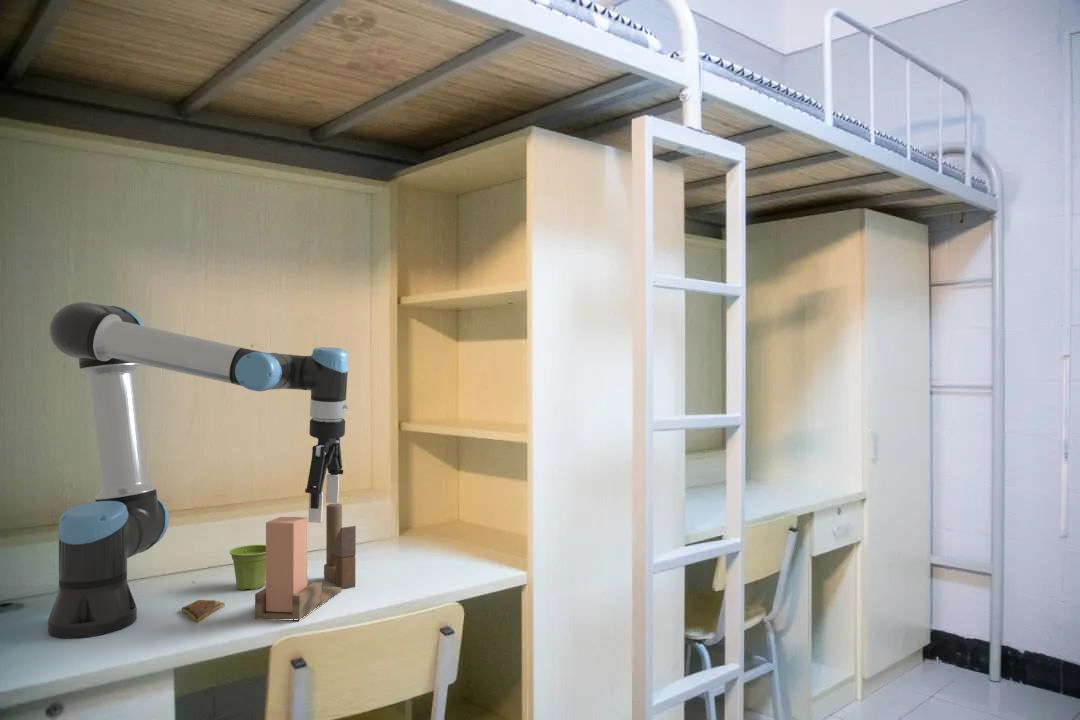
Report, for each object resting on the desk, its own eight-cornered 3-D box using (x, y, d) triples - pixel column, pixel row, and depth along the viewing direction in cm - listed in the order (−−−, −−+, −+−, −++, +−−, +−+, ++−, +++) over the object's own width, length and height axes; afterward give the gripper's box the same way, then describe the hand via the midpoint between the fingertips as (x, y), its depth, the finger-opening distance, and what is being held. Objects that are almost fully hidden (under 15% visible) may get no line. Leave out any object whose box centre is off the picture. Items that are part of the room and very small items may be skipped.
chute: (299, 621, 150) (299, 596, 150) (255, 618, 151) (255, 594, 151) (341, 591, 170) (341, 569, 170) (301, 589, 171) (301, 568, 171)
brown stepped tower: (341, 589, 171) (341, 511, 171) (323, 579, 180) (323, 504, 180) (356, 586, 173) (356, 509, 174) (338, 576, 182) (338, 502, 182)
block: (293, 612, 151) (293, 523, 151) (265, 611, 152) (265, 522, 152) (307, 603, 157) (307, 517, 157) (280, 602, 158) (280, 516, 158)
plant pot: (281, 585, 175) (281, 547, 175) (245, 595, 167) (245, 556, 167) (256, 578, 180) (256, 542, 180) (220, 588, 172) (221, 550, 173)
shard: (197, 626, 149) (197, 617, 149) (161, 624, 150) (161, 615, 150) (226, 608, 159) (226, 600, 159) (193, 607, 160) (193, 599, 160)
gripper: (329, 431, 152) (325, 532, 154) (357, 409, 176) (353, 496, 179) (292, 428, 151) (289, 529, 154) (326, 406, 176) (322, 494, 179)
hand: (323, 512), depth 166 cm, fingers open, 13 cm apart
